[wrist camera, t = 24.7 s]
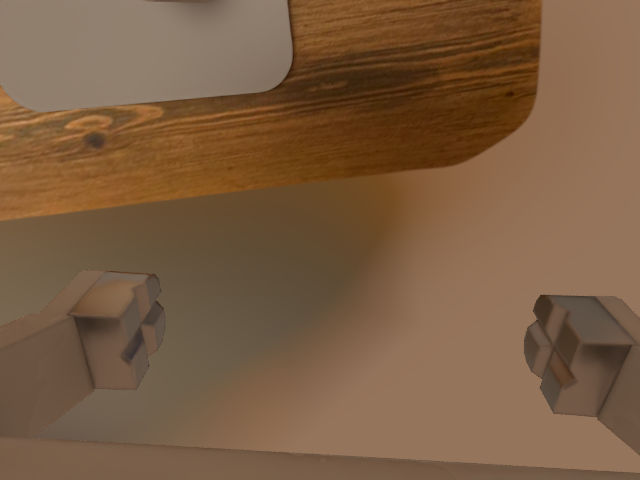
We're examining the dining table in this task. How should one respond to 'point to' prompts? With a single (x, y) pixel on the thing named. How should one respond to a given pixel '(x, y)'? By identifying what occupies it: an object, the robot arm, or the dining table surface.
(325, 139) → the dining table surface
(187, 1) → the beverage can
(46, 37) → the grey flat rounded rectangle
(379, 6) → the dining table surface
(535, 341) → the robot arm
